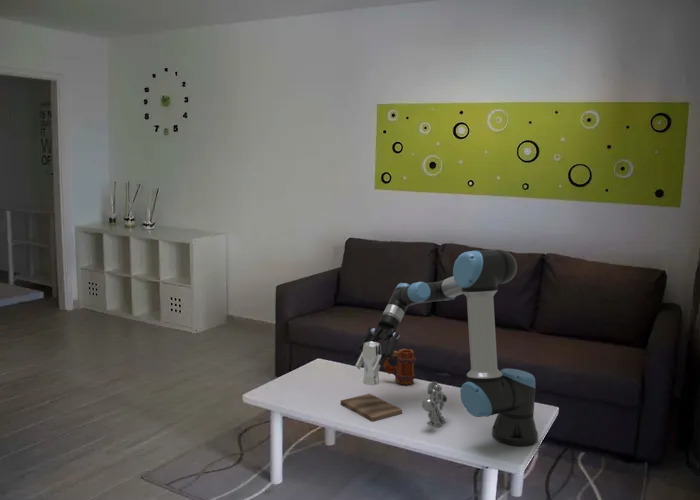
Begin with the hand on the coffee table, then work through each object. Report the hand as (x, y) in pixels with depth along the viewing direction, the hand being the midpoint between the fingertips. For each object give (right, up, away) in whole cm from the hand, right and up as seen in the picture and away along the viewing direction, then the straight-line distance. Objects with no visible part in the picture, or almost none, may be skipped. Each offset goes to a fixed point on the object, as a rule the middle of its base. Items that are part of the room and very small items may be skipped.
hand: (366, 369), depth 237 cm
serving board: (+2, -16, +5) cm, 16 cm away
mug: (+15, -12, +35) cm, 39 cm away
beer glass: (+2, -6, +4) cm, 7 cm away
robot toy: (+24, -18, -9) cm, 31 cm away
